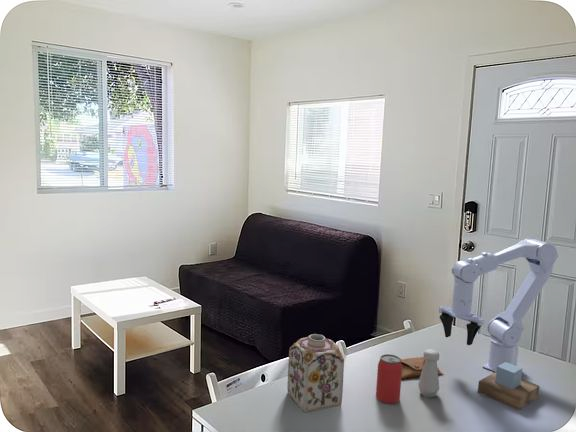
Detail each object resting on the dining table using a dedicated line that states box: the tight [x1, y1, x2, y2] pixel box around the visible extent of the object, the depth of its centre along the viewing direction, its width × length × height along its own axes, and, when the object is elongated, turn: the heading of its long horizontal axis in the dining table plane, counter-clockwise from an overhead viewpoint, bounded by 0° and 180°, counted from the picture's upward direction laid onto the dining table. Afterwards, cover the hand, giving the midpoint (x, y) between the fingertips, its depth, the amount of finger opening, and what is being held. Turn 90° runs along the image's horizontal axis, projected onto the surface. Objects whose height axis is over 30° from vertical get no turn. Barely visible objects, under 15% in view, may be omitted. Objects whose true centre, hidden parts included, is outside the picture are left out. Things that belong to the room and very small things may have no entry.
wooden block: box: [477, 372, 540, 411], centre depth 140 cm, size 12×12×4 cm
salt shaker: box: [418, 348, 440, 398], centre depth 138 cm, size 6×6×13 cm
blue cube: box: [495, 362, 523, 389], centre depth 140 cm, size 5×5×5 cm
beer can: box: [375, 353, 402, 405], centre depth 135 cm, size 7×7×12 cm
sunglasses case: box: [400, 356, 445, 381], centre depth 153 cm, size 18×7×7 cm, turn 110°
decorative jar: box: [286, 333, 345, 413], centre depth 132 cm, size 12×12×18 cm
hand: (458, 340), depth 154 cm, fingers open, 7 cm apart
